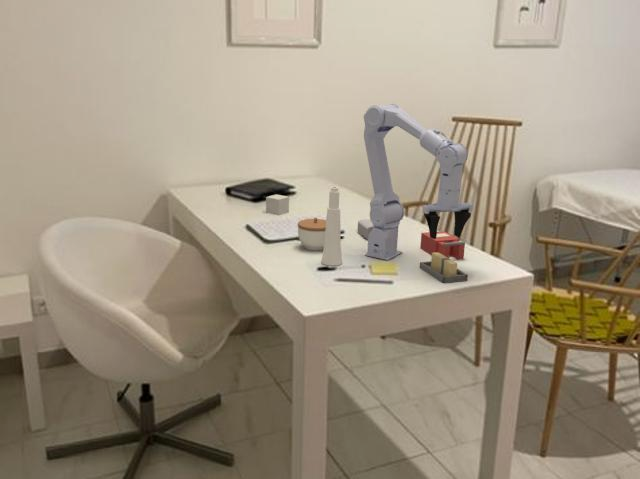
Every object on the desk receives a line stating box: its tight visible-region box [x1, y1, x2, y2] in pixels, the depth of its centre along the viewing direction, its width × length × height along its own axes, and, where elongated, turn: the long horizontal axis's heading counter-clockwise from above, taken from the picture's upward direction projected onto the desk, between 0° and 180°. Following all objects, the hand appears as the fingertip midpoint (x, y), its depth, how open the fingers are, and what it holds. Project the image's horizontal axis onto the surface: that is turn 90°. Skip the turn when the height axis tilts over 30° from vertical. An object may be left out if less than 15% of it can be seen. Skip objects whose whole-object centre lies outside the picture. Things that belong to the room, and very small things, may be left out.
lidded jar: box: [297, 217, 326, 251], centre depth 200 cm, size 11×11×9 cm
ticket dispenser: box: [420, 230, 466, 260], centre depth 199 cm, size 13×8×5 cm, turn 20°
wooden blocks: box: [431, 252, 458, 276], centre depth 181 cm, size 10×2×4 cm, turn 21°
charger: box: [357, 218, 374, 241], centre depth 218 cm, size 5×9×15 cm
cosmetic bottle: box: [320, 186, 343, 267], centre depth 185 cm, size 6×6×22 cm
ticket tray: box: [419, 261, 469, 284], centre depth 181 cm, size 13×8×2 cm, turn 20°
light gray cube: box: [265, 194, 290, 216], centre depth 241 cm, size 6×6×6 cm
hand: (445, 237), depth 182 cm, fingers open, 7 cm apart
